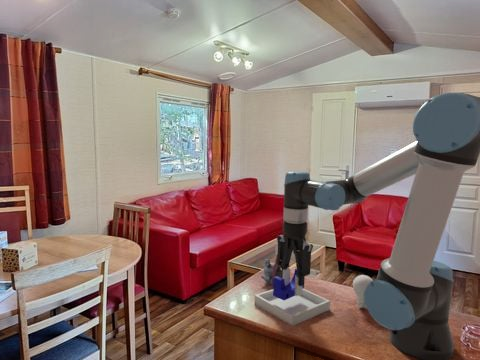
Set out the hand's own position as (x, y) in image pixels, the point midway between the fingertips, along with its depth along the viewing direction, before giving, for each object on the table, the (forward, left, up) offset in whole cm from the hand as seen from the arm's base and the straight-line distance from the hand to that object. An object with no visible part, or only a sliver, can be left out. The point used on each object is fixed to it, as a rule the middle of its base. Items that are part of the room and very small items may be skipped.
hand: (291, 291), depth 114 cm
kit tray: (0, 0, -5) cm, 5 cm away
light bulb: (-14, -18, -5) cm, 24 cm away
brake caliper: (+18, -10, -6) cm, 21 cm away
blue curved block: (0, +1, 0) cm, 1 cm away
